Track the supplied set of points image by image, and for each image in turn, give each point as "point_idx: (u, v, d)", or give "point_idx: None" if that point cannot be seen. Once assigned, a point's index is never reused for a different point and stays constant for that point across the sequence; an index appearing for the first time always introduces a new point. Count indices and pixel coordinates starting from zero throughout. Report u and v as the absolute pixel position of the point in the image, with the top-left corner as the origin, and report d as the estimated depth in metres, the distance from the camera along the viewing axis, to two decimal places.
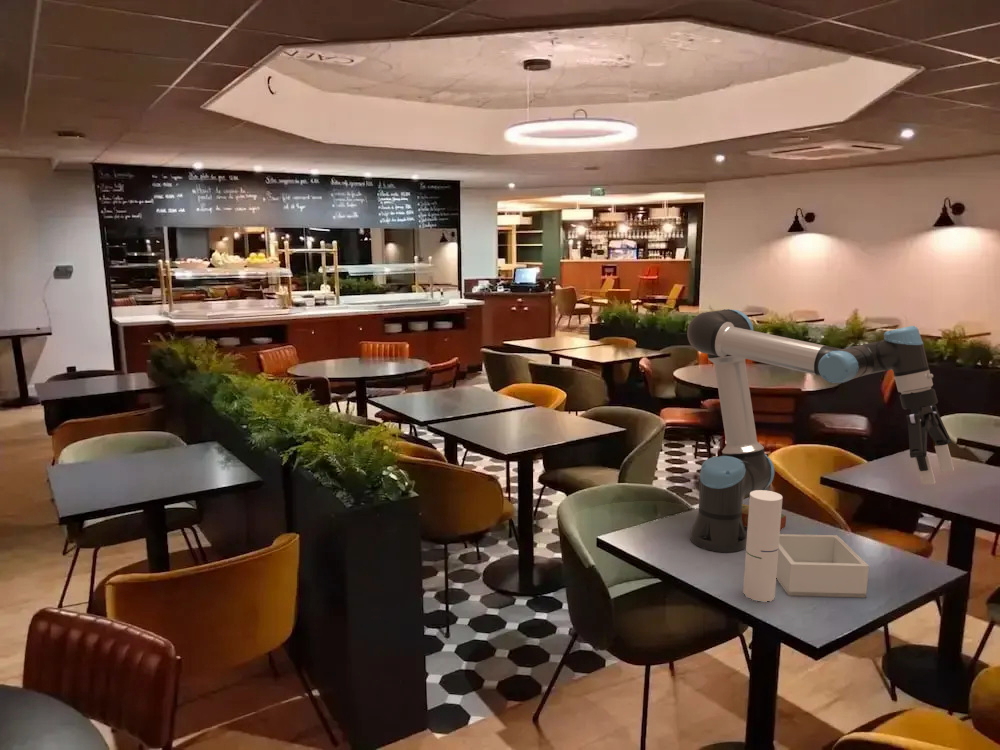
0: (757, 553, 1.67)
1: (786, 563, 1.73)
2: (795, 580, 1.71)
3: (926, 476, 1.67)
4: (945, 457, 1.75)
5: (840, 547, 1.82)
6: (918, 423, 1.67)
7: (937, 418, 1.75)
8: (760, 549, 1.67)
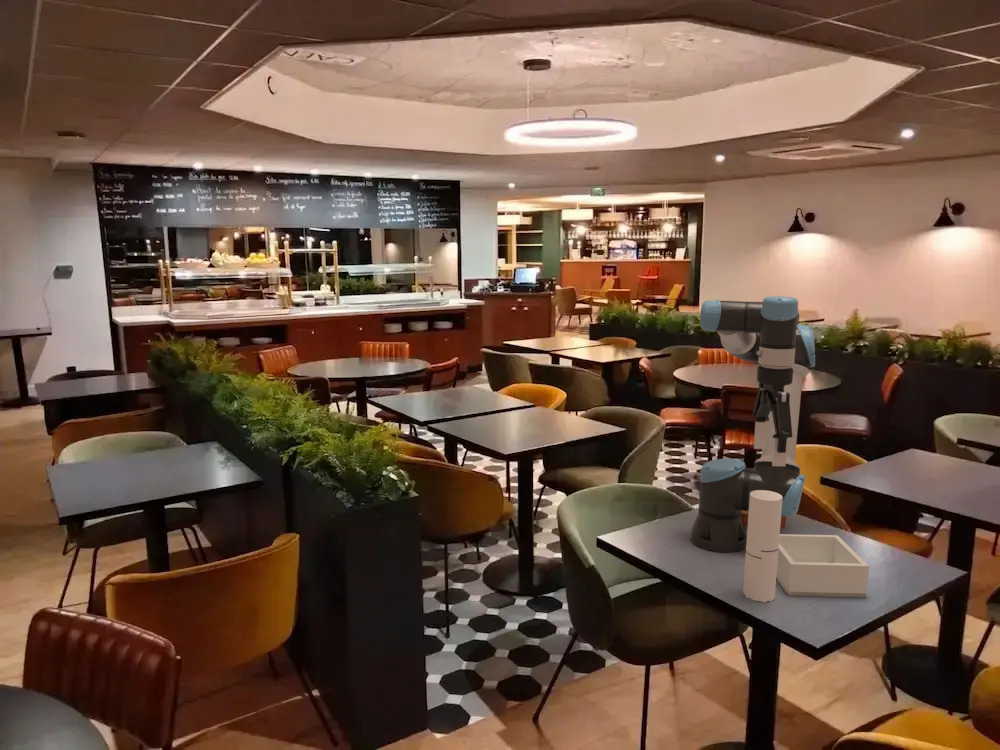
0: (757, 553, 1.67)
1: (786, 563, 1.73)
2: (795, 580, 1.71)
3: None
4: None
5: (840, 547, 1.82)
6: None
7: None
8: (760, 549, 1.67)
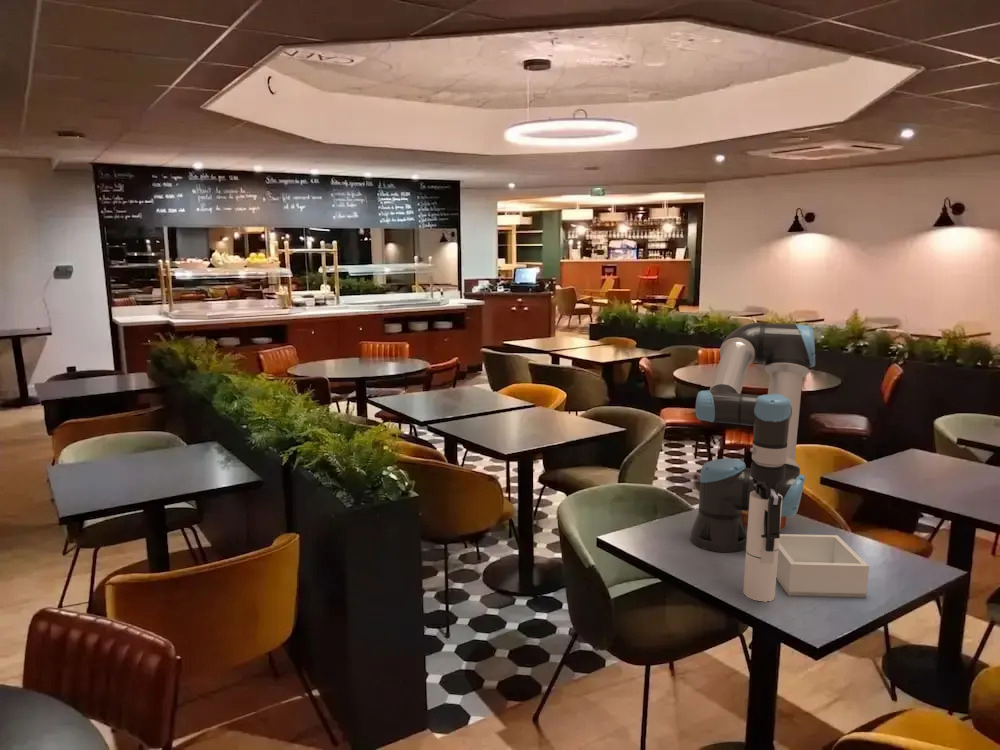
0: (757, 553, 1.67)
1: (786, 563, 1.73)
2: (795, 580, 1.71)
3: None
4: None
5: (840, 547, 1.82)
6: None
7: None
8: (760, 549, 1.67)
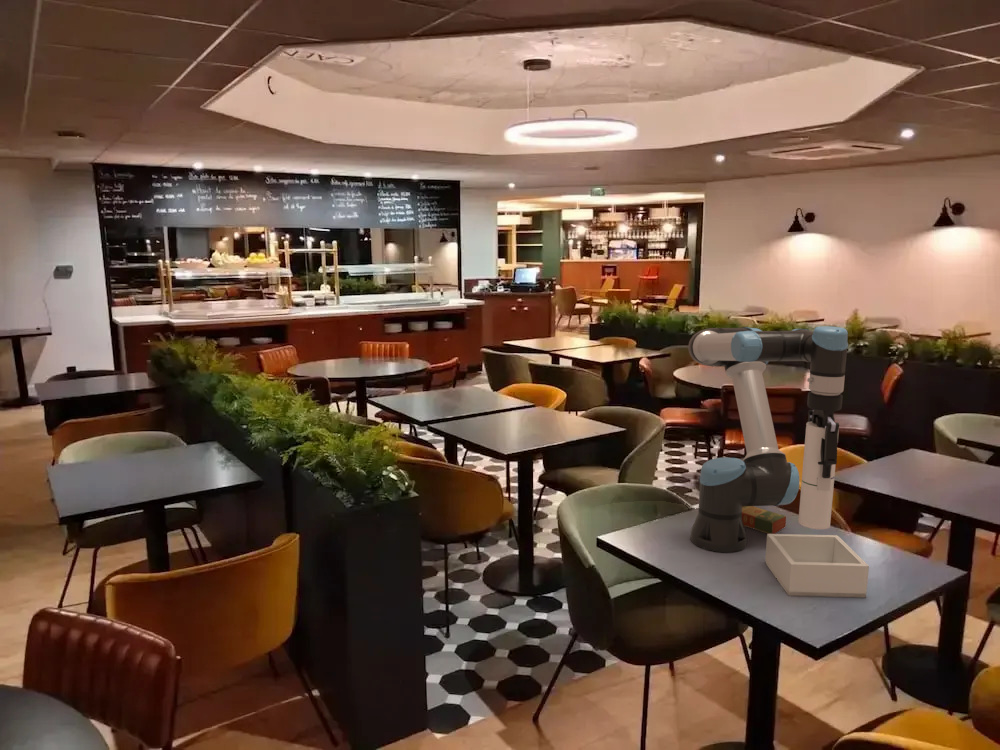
0: (813, 481, 1.72)
1: (786, 563, 1.73)
2: (795, 580, 1.71)
3: None
4: None
5: (840, 547, 1.82)
6: None
7: None
8: (816, 477, 1.71)
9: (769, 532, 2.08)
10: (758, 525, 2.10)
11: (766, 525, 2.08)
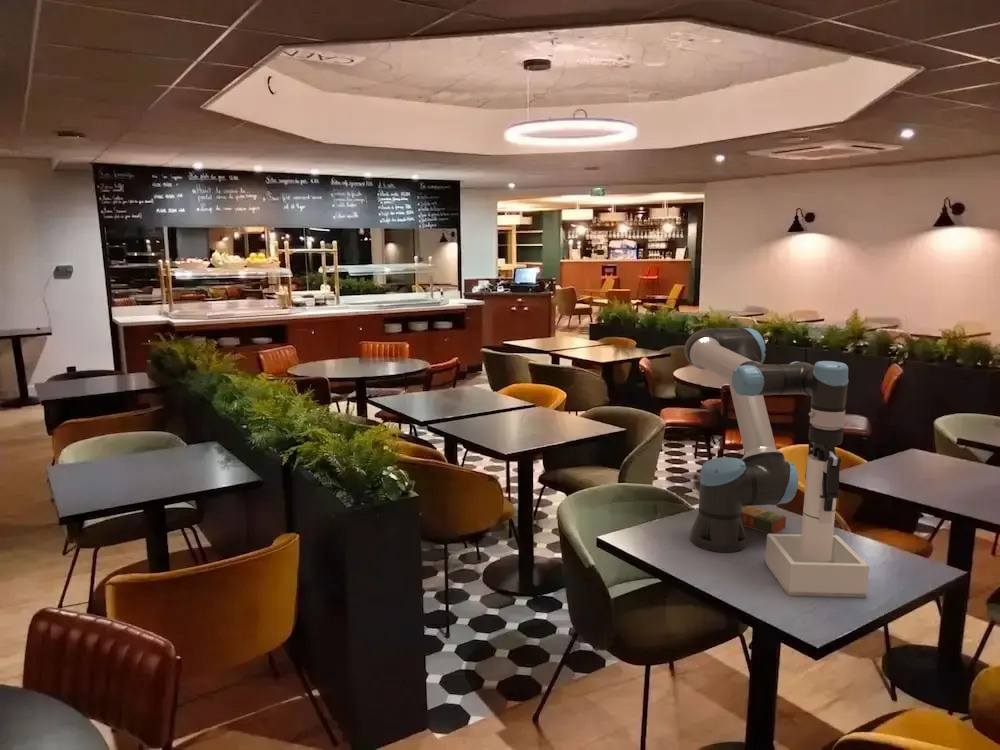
0: (815, 513, 1.74)
1: (786, 563, 1.73)
2: (795, 580, 1.71)
3: None
4: None
5: (840, 547, 1.82)
6: None
7: None
8: (818, 509, 1.73)
9: (768, 532, 2.08)
10: (757, 525, 2.10)
11: (765, 525, 2.08)
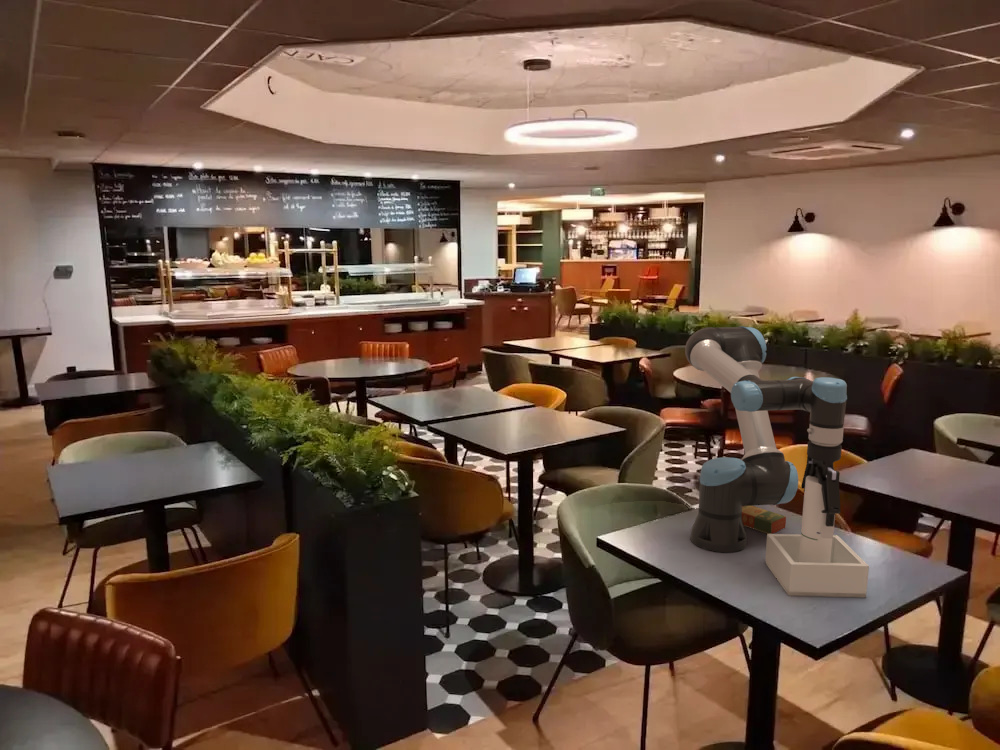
0: (813, 535, 1.75)
1: (786, 563, 1.73)
2: (795, 580, 1.71)
3: None
4: None
5: (840, 547, 1.82)
6: None
7: None
8: (816, 531, 1.74)
9: (768, 532, 2.08)
10: (757, 525, 2.10)
11: (765, 525, 2.08)
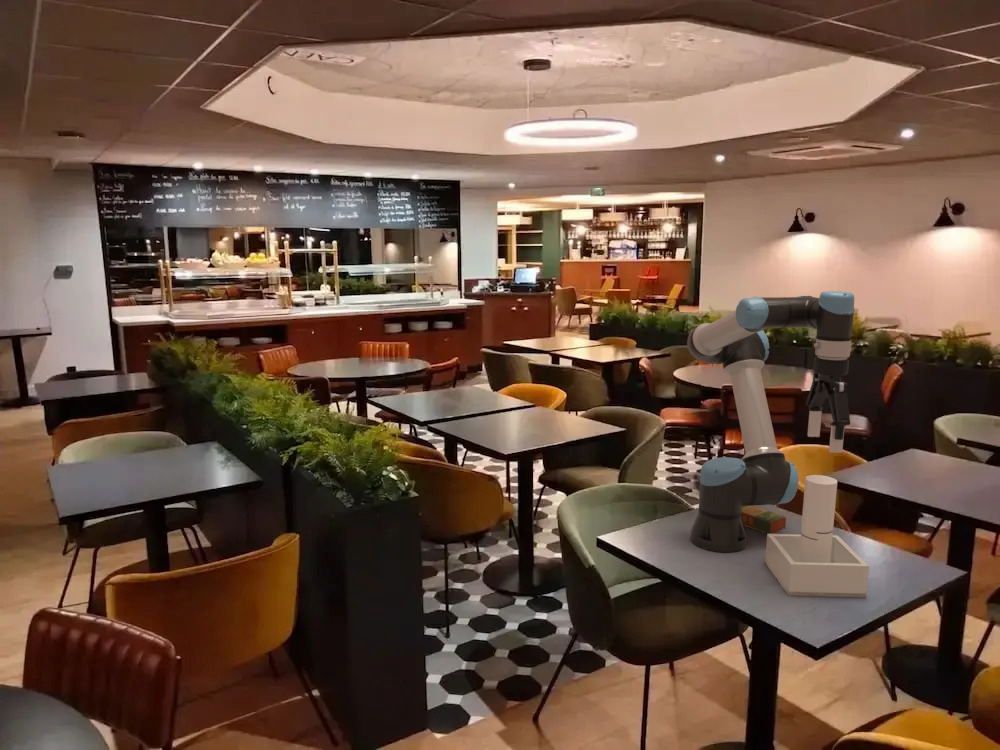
0: (813, 535, 1.75)
1: (786, 563, 1.73)
2: (795, 580, 1.71)
3: None
4: None
5: (840, 547, 1.82)
6: None
7: None
8: (816, 531, 1.74)
9: (767, 532, 2.08)
10: (757, 525, 2.10)
11: (764, 525, 2.08)
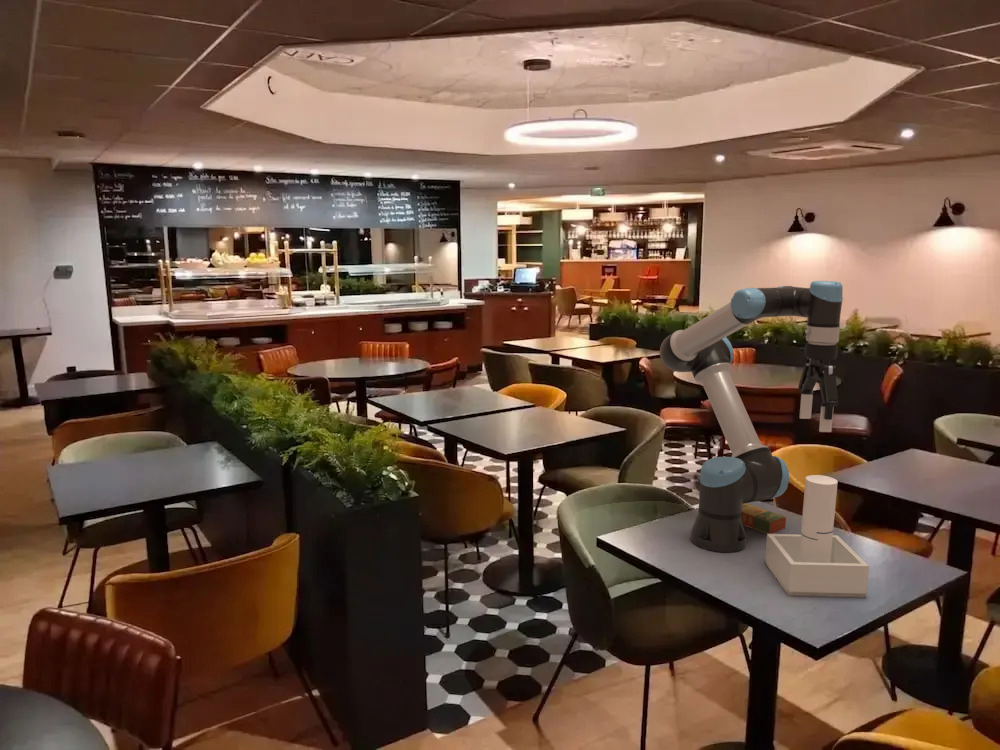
0: (813, 535, 1.75)
1: (786, 563, 1.73)
2: (795, 580, 1.71)
3: None
4: None
5: (840, 547, 1.82)
6: None
7: None
8: (816, 531, 1.74)
9: (767, 532, 2.08)
10: (756, 525, 2.11)
11: (764, 525, 2.08)
